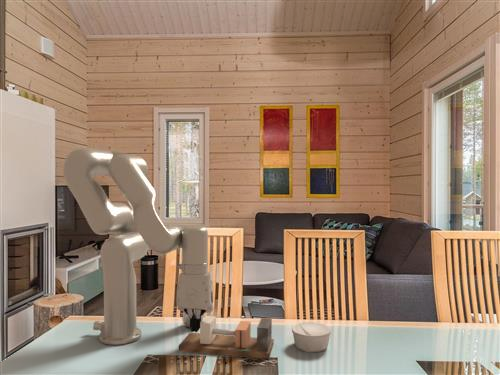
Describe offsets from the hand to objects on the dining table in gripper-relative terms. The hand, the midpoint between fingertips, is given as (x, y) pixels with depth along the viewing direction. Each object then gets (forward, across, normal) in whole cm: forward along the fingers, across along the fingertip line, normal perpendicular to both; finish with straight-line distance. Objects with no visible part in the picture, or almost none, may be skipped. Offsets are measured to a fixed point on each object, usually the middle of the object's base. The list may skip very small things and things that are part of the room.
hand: (195, 330), depth 122 cm
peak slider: (+3, +14, -1) cm, 15 cm away
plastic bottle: (+4, -6, +14) cm, 16 cm away
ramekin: (+5, +34, +6) cm, 34 cm away
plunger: (+3, +8, 0) cm, 8 cm away
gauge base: (+4, +10, 0) cm, 10 cm away
